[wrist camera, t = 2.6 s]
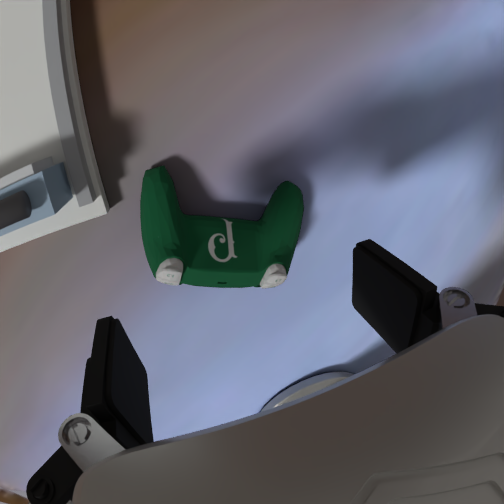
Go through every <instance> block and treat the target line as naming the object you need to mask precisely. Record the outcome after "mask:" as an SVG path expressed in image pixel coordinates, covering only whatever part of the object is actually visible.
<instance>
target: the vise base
mask: <svg viewBox="0 0 504 504" xmlns="http://www.w3.org/2000/svg"><path fill="white" fill-rule="evenodd" d="M51 156H52V160H53V164H54V165H56V164H59V163H61V162H63V163H64V167H65V171H66V174H67V178H68V181H69V185H70V188H71V192H72V195H73V198H72V199H71V200H70V201H69V202H68V203H67V204H66V205H65V206H63V207H62V208H61V209H60V210H59V211H58V212H57V213H56V214H55V215H52V216H50V217H47V218H45V219H42V220H39V221H37V222H34V223H32V224H29V225H27V226H24V227H22V228H19V229H17V230H15V231H12V232H10V233H7V234H5V235H3V236H0V252H2V251H5V250H7V249H10V248H12V247H15V246H17V245H20V244H22V243H25V242H28V241H30V240H33V239H36V238H38V237H41V236H44V235H46V234H49V233H52V232H55V231H57V230H60V229H63V228H66V227H69V226H72V225H74V224H77V223H80V222H83V221H86V220H89V219H92V218H95V217H98V216H101V215H105V214H107V213H108V211H109V209H110V208H109V204H108V201H107V198H106V194H105V191H104V187H103V184H102V180H101V177H100V173H99V169H98V166H97V162H96V158H95V154H94V150H93V146H92V142H91V138H90V133H89V129H88V124H87V120H86V115H85V110H84V105H83V100H82V94H81V89H80V83H79V77H78V71H77V64H76V57H75V50H74V41H73V32H72V22H71V10H70V0H0V178H2V177H4V176H6V175H8V174H10V173H12V172H14V171H17V170H19V169H21V168H23V167H25V166H27V165H30V164H32V163H35V162H37V161H40V160H43V159H46V158H48V157H51Z"/></svg>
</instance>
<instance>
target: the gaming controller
mask: <svg viewBox="0 0 504 504" xmlns="http://www.w3.org/2000/svg"><path fill="white" fill-rule="evenodd" d="M140 210H141V231H142V239H143V245H144V249H145V253H146V257H147V260H148V263H149V266H150V268H151V270H152V273H153V275H154V277H155V278H156V280H158V281H159V282H162V283H165V284H169V285H178V284H179V285H181V284H182V283H184V284H188V285H193V286H204V287H220V288H243V287H252V286H254V287H261V288H272V287H276V286H278V285H280V284H282V283H283V282H284V281H285V280H286V278H287V274H288V271H289V268H290V264H291V261H292V258H293V254H294V251H295V248H296V244H297V241H298V237H299V233H300V229H301V223H302V217H303V211H304V205H303V195H302V193H301V190H300V189H299V188H298V187H297V186H296V185H294V184H293V183H291V182H289V181H285V182H283V183H281V184H280V185H279V186H278V188H277V189H276V190H275V192H274V193H273V195H272V197H271V199H270V201H269V203H268V205H267V207H266V209H265V211H264V214H263V216H262V217H261V219H260V220H259V221H250V220H243V219H234V218H223V217H212V216H197V215H186V214H183V213H182V211H181V210H180V206H179V203H178V199H177V195H176V191H175V187H174V184H173V181H172V179H171V177H170V175H169V173H168V171H167V170H166V168H165V166H164V165H163V166H160V167H156V168H153V169H149V170H146V171H145V174H144V177H143V183H142V192H141V201H140Z"/></svg>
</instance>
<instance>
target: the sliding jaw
mask: <svg viewBox="0 0 504 504" xmlns="http://www.w3.org/2000/svg"><path fill="white" fill-rule="evenodd" d="M72 198H73V195H72V192H71V188H70V185H69V181H68V178H67V174H66V171H65V167H64V163H63V162H61V163H59V164H56V165H54V164H53V160H52V156H51V157H48V158H46V159H43V160H40V161H37V162H35V163H32V164H30V165H27V166H25V167H23V168H21V169H19V170H17V171H14V172H12V173H10V174H8V175H6V176H4V177H2V178H0V236H3V235H5V234H7V233H10V232H12V231H15V230H17V229H19V228H22V227H24V226H27V225H29V224H32V223H34V222H37V221H39V220H42V219H45V218H47V217H50V216H52V215H55V214H56V213H57V212H58V211H59V210H60V209H61V208H62V207H63V206H65V205H66V204H67V203H68V202H69V201H70V200H71V199H72Z"/></svg>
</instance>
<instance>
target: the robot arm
mask: <svg viewBox="0 0 504 504" xmlns="http://www.w3.org/2000/svg"><path fill="white" fill-rule="evenodd" d="M436 291H437V286H436V285H434V284H433V283H432V282H430V281H429V280H428V279H426V278H425V277H424V276H422V275H421V274H420V273H418V272H417V271H415V270H414V269H413V268H411V267H410V266H408V265H407V264H406V263H404V262H403V261H401V260H400V259H399V258H397V257H396V256H394V255H393V254H391V253H390V252H389V251H387V250H386V249H384V248H383V247H381V246H380V245H378V244H377V243H375V242H374V241H372V240H371V239H368V240H365V241H362V242H359V243H357V244H356V247H355V248H354V249H353V286H352V304H353V306H354V308H355V309H356V310H357V312H358V313H359V314H360V315H361V316H362V317H363V318H364V319H365V320H366V321H367V322H368V323H369V324H370V325H371V326H372V327H373V328H374V329H375V331H376V332H377V333H378V334H379V335H380V336H381V337H382V338H383V339H384V340H385V341H386V342H387V343H388V344H389V346H390V347H391V348H392V349H393V350H394V351H395V352H396V353H397V354H395V355H393V356H391V357H390V358H388V359H386V360H384V361H382V362H380V363H378V364H376V365H374V366H372V367H370V368H367V369H365V370H363V371H361V372H359V373H357V374H355V375H354V374H352V373H348V372H330V373H324V374H320V375H317V376H313V377H311V378H308V379H306V380H303V381H301V382H299V383H297V384H295V385H293V386H291V387H289V388H288V389H286V390H285V391H283V392H281V393H280V394H279V395H277V396H276V397H275V398H273V399H272V400H271V401H270V402H269V403H268V404H267V405H266V406H265V407H264V408H263V409H262V410H261V412H260V413H257V414H254V415H251V416H248V417H244V418H241V419H238V420H235V421H232V422H228V423H225V424H221V425H218V426H214V427H211V428H207V429H203V430H200V431H196V432H192V433H189V434H185V435H181V436H177V437H173V438H168V439H164V440H160V441H156V442H154V441H153V433H152V424H151V415H150V405H149V393H148V380H147V373H146V370H145V367H144V366H143V364H142V362H141V360H140V358H139V357H138V355H137V353H136V351H135V349H134V348H133V346H132V344H131V342H130V340H129V338H128V336H127V334H126V332H125V330H124V328H123V327H122V325H121V323H120V321H119V319H114V318H113V317H112V316H109V317H106V318H102V319H98V320H97V323H96V329H95V335H94V341H93V347H92V354H91V358H88V359H87V363H86V369H85V377H84V385H83V393H82V402H81V413H78V414H74V415H71V416H70V417H68V418H67V419H66V420H65V421H64V422H63V423H62V425H61V427H60V429H59V433H58V437H59V441H60V443H61V445H62V446H61V447H60V448H59V449H58V450H57V451H56V452H55V453H54V454H53V455H52V456H51V457H50V458H49V459H48V460H47V461H46V462H45V464H44V465H43V466H42V467H41V468H40V469H39V470H38V471H37V472H36V473H35V474H34V475H33V476H32V477H31V479H30V480H29V481H28V484H27V490H26V493H27V497H28V500H29V503H28V504H504V307H503V306H494V305H485V304H476V303H474V299H473V297H472V295H471V294H470V293H469V292H467V291H466V290H464V289H461V288H457V287H448V288H445V289H443V290H442V291H441V292H440V294H439V293H438V292H436Z"/></svg>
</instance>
